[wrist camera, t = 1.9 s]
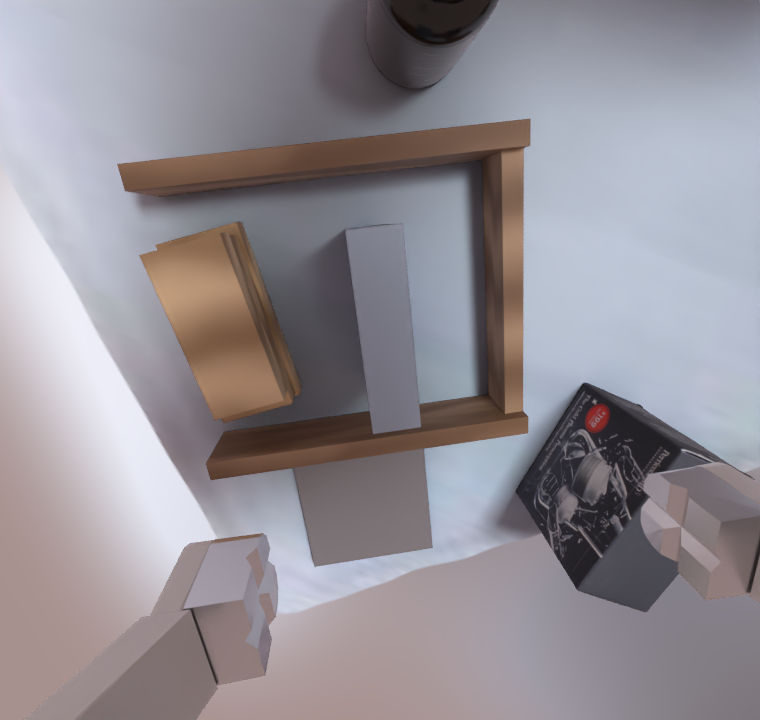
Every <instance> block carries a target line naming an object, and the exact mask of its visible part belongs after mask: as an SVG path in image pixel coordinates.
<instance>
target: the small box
mask: <svg viewBox="0 0 760 720" xmlns="http://www.w3.org/2000/svg"><path fill="white" fill-rule="evenodd" d="M715 462H720V463H724V464H728V463H727V462H725V461H724V460H722V459H720V458H719V457H718V456H716V455H714V454H713V453H711V452H710V451H708V450H707V449H705V448H704V447H702V446H701V445H699V444H698V443H696V442H695V441H693V440H692V439H690V438H688V437H687V436H685V435H683V434H682V433H680V432H679V431H677V430H675V429H674V428H672V427H671V426H669V425H667V424H666V423H664V422H663V421H661V420H660V419H658V418H657V417H655V416H653V415H652V414H650V413H649V412H647V411H646V410H645V409H643V407H642V406H641V405H638V404H634V403H632V402H630V401H627V400H625V399H623V398H620V397H618V396H616V395H614V394H611V393H609V392H607V391H605V390H602V389H600V388H598V387H595V386H593V385H591V384H588V383H584V384H583V386H582V387H581V389H580V391H579V392H578V394H577V395H576V397H575V398H574V400H573V402H572V403H571V405H570V406H569V408H568V409H567V411H566V412H565V414H564V416H563V417H562V419H561V420H560V422H559V424H558V425H557V427H556V428H555V430H554V431H553V433H552V435H551V436H550V438H549V439H548V441H547V442H546V444H545V446H544V447H543V449H542V450H541V452H540V454H539V455H538V457H537V458H536V460H535V461H534V463H533V464H532V466H531V468H530V469H529V471H528V472H527V474H526V476H525V477H524V479H523V480H522V482H521V483H520V485H519V487H518V488H517V490H516V492H517V494H518V495H519V497H520V499H521V500H522V502H523V503H524V505H525V506H526V508H527V510H528V511H529V513H530V514H531V516H532V518H533V519H534V521H535V523H536V524H537V526H538V527H539V529H540V530H541V532H542V534H543V535H544V537H545V539H546V540H547V542H548V543H549V545H550V547H551V548H552V550H553V552H554V553H555V555H556V556H557V558H558V560H559V561H560V563H561V564H562V566H563V568H564V569H565V571H566V572H567V574H568V576H569V577H570V579H571V580H572V582H573V584H574V585H575V587H576V589H577V590H578V591H581V592H584V593H587V594H589V595H592V596H596V597H599V598H602V599H606V600H608V601H611V602H614V603H618V604H620V605H624V606H628V607H630V608H634V609H637V610H640V611H643V612H647V611H648V610H649V609H650V607H651V606H652V605H653V604H654V603H655V601H656V600H657V599H658V598H659V597H660V595H661V594H662V593H663V592H664V590H665V589H666V588H667V587H668V586H669V584H670V583H671V582H672V581H673V580H674V579H675V577H676V576H677V575H678V574H679V573H678V572H677V565H676V561H674V560H672V559H670V558H668V557H665V556H663V555H661V554H660V553H659V552H658V551H657V550H656V549H655V548H654V547H653V546H652V545H651V543H650V542H649V540H648V539H647V537H646V536H645V534H644V531H643V527H642V524H641V521H640V520H641V508H642V506H643V505H644V504H645V503H646V501H647V500H648V499H649V497H648V496H647V495H646V493H645V492H644V491H643V489H644V482H645V479H646V478H647V476H648V475H649V474H652V473H659V472H665V471H671V470H677V469H683V468H690V467H694V466H698V465H704V464H709V463H715ZM728 465H730V464H728ZM730 466H731V465H730ZM731 467H733V466H731ZM733 468H735V467H733ZM735 469H736V468H735ZM736 470H738V469H736ZM738 471H739V472H741V471H740V470H738ZM741 473H743V472H741ZM743 474H744V475H746V476H748V477H749V478H751V479H753V478H752V477H751V476H749V475H747V474H746V473H743ZM753 480H754V481H755V479H753Z"/></svg>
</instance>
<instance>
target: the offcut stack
mask: <svg viewBox="0 0 760 720" xmlns="http://www.w3.org/2000/svg"><path fill="white" fill-rule="evenodd" d="M156 247H157V251H153V252H150V253H146V254H143V255H139V256H140V258H141V260H142V262H143V264H144V267H145V269H146V271H147V273H148V275H149V277H150V280H151V282H152V284H153V286H154V288H155V291H156V293H157V295H158V297H159V299H160V302H161V304H162V306H163V308H164V310H165V312H166V315H167V317H168V319H169V321H170V323H171V326H172V328H173V330H174V332H175V334H176V337H177V339H178V341H179V343H180V345H181V347H182V350H183V352H184V354H185V356H186V358H187V361H188V363H189V365H190V367H191V369H192V371H193V374H194V376H195V378H196V380H197V382H198V385H199V387H200V389H201V391H202V393H203V396H204V398H205V400H206V402H207V404H208V406H209V409H210V411H211V413H212V415H213V417H214V420H217V419H221V418H222V421H223V423H226V422H229V421H233V420H236V419H240V418H243V417H247V416H250V415H254V414H257V413H261V412H264V411H268V410H271V409H275V408H278V407H282V406H286V405H289V404H293V400H294V397H295V396H296V395H300V391H301V387H302V386H301V383H300V381H299V378H298V375H297V372H296V370H295V367H294V364H293V361H292V359H291V356H290V353H289V350H288V348H287V345H286V342H285V339H284V337H283V334H282V331H281V328H280V326H279V323H278V320H277V317H276V315H275V312H274V309H273V306H272V304H271V301H270V298H269V295H268V293H267V290H266V287H265V284H264V282H263V279H262V276H261V273H260V271H259V268H258V265H257V262H256V260H255V257H254V254H253V251H252V249H251V246H250V243H249V240H248V238H247V235H246V232H245V229H244V227H243V224H242V222H235V223H232V224H228V225H225V226H221V227H218V228H214V229H210V230H207V231H203V232H200V233H196V234H193V235H189V236H186V237H182V238H179V239H175V240H172V241H168V242H165V243H161V244H158V245H156Z"/></svg>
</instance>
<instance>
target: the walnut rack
mask: <svg viewBox="0 0 760 720" xmlns="http://www.w3.org/2000/svg"><path fill="white" fill-rule="evenodd" d="M529 145H530V119H523V120H514V121H505V122H496V123H487V124H478V125H469V126H460V127H450V128H441V129H432V130H423V131H414V132H405V133H396V134H387V135H378V136H369V137H360V138H351V139H342V140H332V141H323V142H314V143H305V144H296V145H287V146H278V147H269V148H260V149H251V150H242V151H233V152H224V153H214V154H205V155H196V156H187V157H178V158H169V159H160V160H151V161H142V162H133V163H124V164H117V165H118V168H119V172H120V175H121V178H122V182H123V185H124V188H125V191H128V192H134V193H140V194H147V195H153V196H159V197H162V196H171V195H179V194H188V193H197V192H206V191H214V190H223V189H232V188H241V187H249V186H258V185H267V184H275V183H284V182H293V181H302V180H310V179H319V178H328V177H337V176H345V175H354V174H363V173H372V172H380V171H389V170H398V169H407V168H415V167H424V166H433V165H441V164H450V163H459V162H468V161H476V160H482V184H483V219H484V255H485V290H486V326H487V361H488V395H481V396H474V397H467V398H460V399H453V400H446V401H439V402H432V403H425V404H419V409H420V420H421V427H418V428H411V429H404V430H398V431H391V432H384V433H377V434H373V430H372V423H371V416H370V411H369V412H362V413H355V414H348V415H341V416H334V417H327V418H320V419H313V420H306V421H299V422H292V423H285V424H277V425H270V426H263V427H256V428H249V429H242V430H235V431H228V432H224V433H223V435H222V437H221V438H220V440H219V442H218V444H217V445H216V447H215V449H214V451H213V452H212V454H211V456H210V457H209V459H208V461H207V463H206V465H207V469H208V472H209V476H210V479H211V480H215V479H221V478H228V477H235V476H242V475H248V474H255V473H262V472H269V471H275V470H282V469H289V468H296V467H302V466H309V465H316V464H323V463H329V462H336V461H343V460H350V459H356V458H363V457H370V456H377V455H384V454H390V453H397V452H404V451H411V450H417V449H424V448H431V447H438V446H444V445H451V444H458V443H465V442H471V441H478V440H485V439H492V438H498V437H505V436H512V435H519V434H525V433H528V416H527V415H526V414H525V413H524V412H523V164H524V148H525V147H527V146H529Z"/></svg>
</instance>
